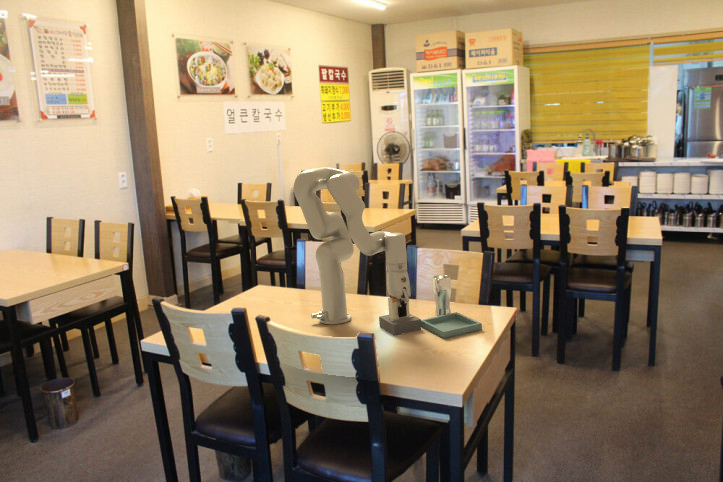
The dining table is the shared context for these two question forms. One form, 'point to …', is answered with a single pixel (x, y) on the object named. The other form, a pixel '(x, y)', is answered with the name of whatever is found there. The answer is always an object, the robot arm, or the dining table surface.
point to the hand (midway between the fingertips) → (399, 314)
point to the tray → (451, 325)
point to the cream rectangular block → (395, 308)
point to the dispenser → (400, 324)
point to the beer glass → (442, 294)
